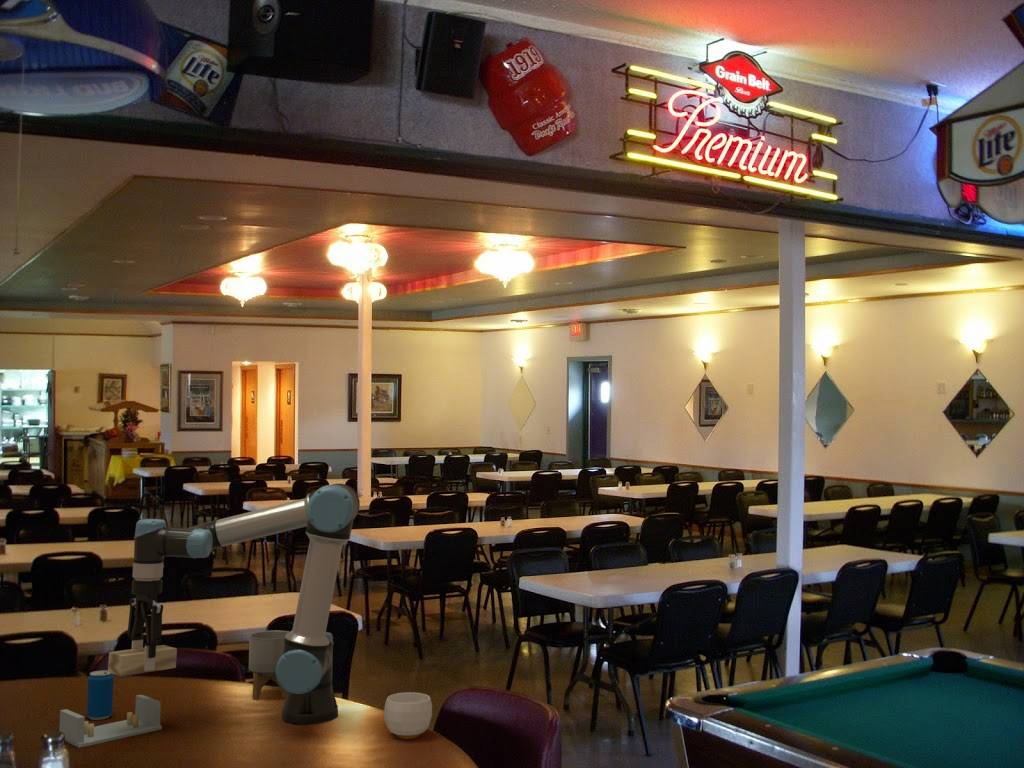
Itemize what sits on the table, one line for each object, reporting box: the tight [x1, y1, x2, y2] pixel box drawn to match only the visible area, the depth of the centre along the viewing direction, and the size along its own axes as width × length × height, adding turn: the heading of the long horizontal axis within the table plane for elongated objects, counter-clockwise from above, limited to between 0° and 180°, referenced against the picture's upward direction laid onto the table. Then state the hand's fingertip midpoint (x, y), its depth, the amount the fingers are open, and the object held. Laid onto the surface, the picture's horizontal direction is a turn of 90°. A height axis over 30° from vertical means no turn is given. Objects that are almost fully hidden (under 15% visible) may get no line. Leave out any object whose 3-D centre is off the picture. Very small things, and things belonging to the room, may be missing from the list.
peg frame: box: [59, 694, 163, 748], centre depth 266 cm, size 12×22×7 cm, turn 138°
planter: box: [248, 629, 290, 701], centre depth 306 cm, size 13×13×18 cm
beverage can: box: [86, 669, 115, 721], centre depth 280 cm, size 6×6×12 cm
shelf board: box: [107, 644, 178, 677], centre depth 270 cm, size 6×16×5 cm, turn 141°
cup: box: [383, 691, 433, 740], centre depth 267 cm, size 12×12×10 cm
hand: (142, 667), depth 270 cm, fingers closed on shelf board, 6 cm apart
